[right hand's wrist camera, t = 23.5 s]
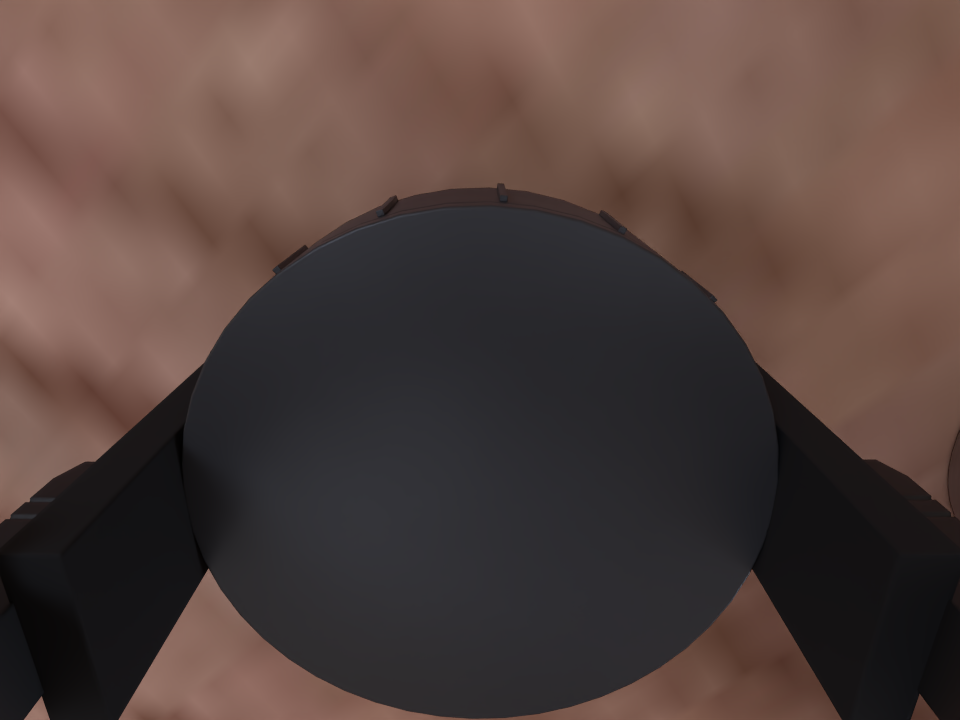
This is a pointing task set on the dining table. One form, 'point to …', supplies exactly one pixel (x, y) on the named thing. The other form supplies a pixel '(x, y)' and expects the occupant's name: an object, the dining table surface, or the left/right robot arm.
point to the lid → (480, 456)
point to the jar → (955, 478)
